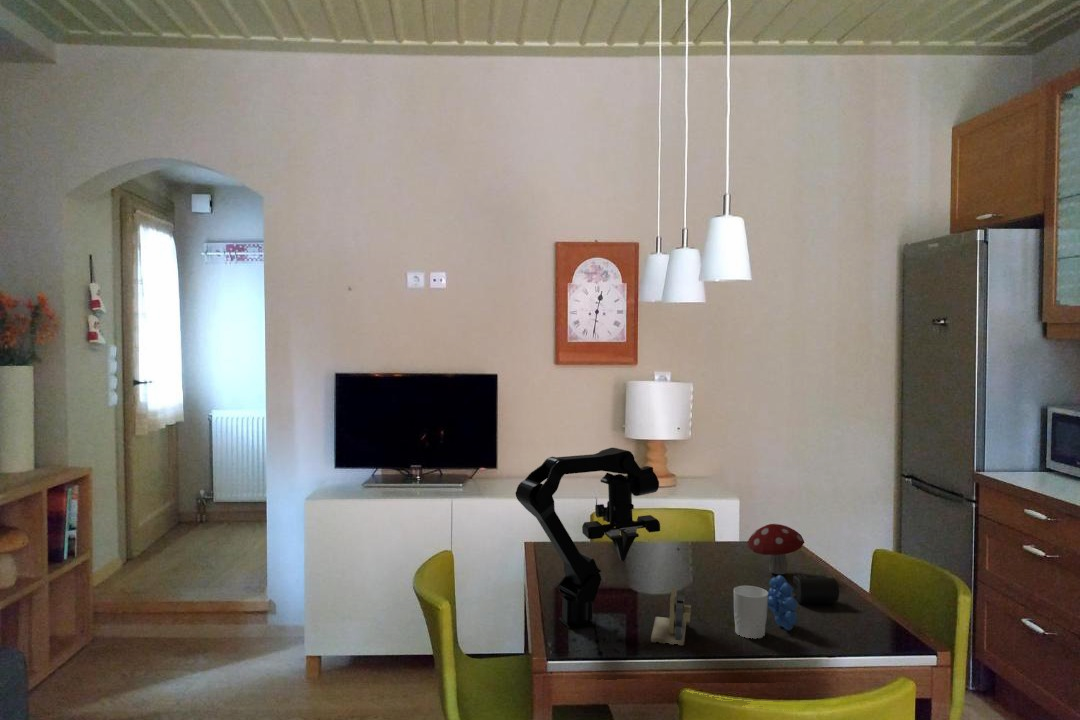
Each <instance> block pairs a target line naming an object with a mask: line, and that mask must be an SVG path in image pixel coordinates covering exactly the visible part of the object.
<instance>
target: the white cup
mask: <svg viewBox="0 0 1080 720" xmlns="http://www.w3.org/2000/svg"><path fill="white" fill-rule="evenodd" d="M768 608H769V607H768V591H767V590H766V589H764V588H761V587H758V586H754V585H738V586H735V587H734V588H733V616H734V618H733V620H734V625H735V626H734V633H736V635H737V636H739V635H740V637H741V638H744V637H745V638H746V639H749V638H751V639H752V638H753V639H752V640H754V639H755V640H756V639H757V638H758V639H762V638H764V637H765V635H766V625H767V619H768V618H767V617H768ZM763 636H764V637H763ZM745 638H744V639H745Z"/></svg>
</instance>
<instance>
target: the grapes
mask: <svg viewBox="0 0 1080 720" xmlns="http://www.w3.org/2000/svg"><path fill="white" fill-rule="evenodd" d="M768 586H770V588H768V591H767V592H768V607H767V608H769V609H768V610H770V612H772V614H773V615H775V617H774V621H775V622H776V624H777V625H778V626H779V627H782V628H783V629H784V630H786V631H791V630H792V629H793V627H794V625H795V624H796V623H797V621H798V618H799V616H798V614H797V613H796V612H795V611H796V609H797V607H798V604H799V603H798V602H797V601H796V600H795V599H794V598H793V596H792V595H793V594H794V593H793V586H792V585H791V584H790V583H789V582H788V581H787V579H786V578H785V577H784V576H783V575H782V574H777V575H776V576H775V577H774V576H773V577H771V578H770V580H769V585H768Z"/></svg>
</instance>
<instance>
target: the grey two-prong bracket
mask: <svg viewBox="0 0 1080 720" xmlns="http://www.w3.org/2000/svg"><path fill="white" fill-rule="evenodd" d="M684 605H685V595H676V613H675V628H674V636H675V640H681V637H682V635H683V625H684V622H683V612H684Z"/></svg>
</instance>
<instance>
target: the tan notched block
mask: <svg viewBox="0 0 1080 720" xmlns="http://www.w3.org/2000/svg"><path fill="white" fill-rule="evenodd" d="M676 603H677V587H672V588H671V593H670V598H669V618H670V622H669V634H674V628H675V613H676ZM691 612H692V605H691V604H684V612H683V622H686V623H690V622H691Z"/></svg>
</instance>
